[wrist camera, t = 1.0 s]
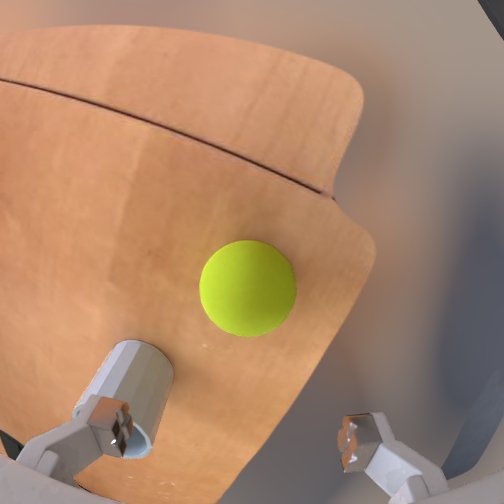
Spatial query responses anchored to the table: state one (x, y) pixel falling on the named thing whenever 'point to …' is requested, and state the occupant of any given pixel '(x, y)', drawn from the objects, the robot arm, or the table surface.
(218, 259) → the tennis ball
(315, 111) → the table surface
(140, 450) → the cup
